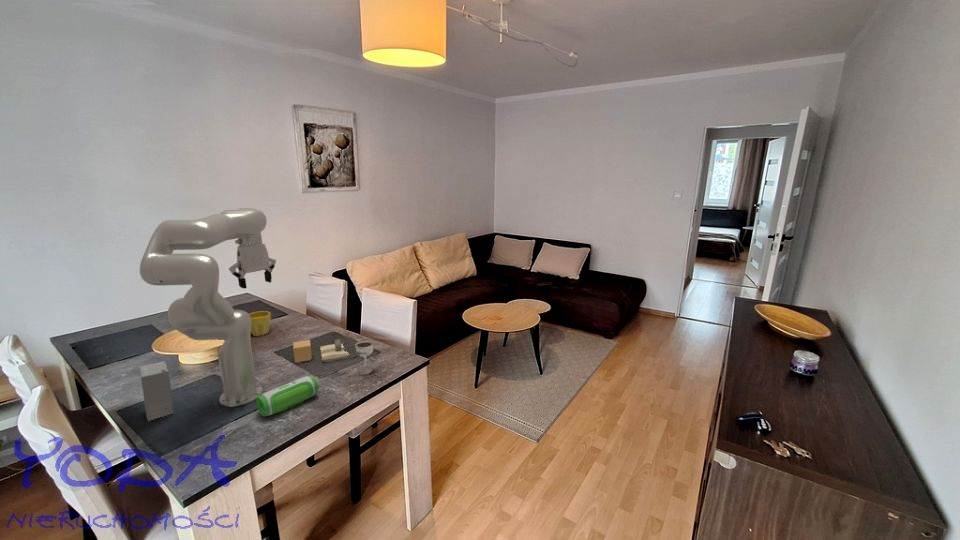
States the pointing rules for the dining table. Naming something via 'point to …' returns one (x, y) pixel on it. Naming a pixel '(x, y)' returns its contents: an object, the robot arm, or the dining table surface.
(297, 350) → the tan block
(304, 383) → the speaker
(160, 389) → the skincare box
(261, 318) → the plant pot
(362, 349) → the wineglass
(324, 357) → the holder
